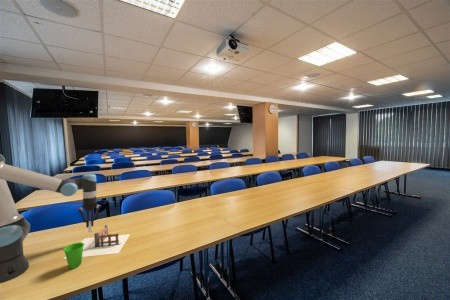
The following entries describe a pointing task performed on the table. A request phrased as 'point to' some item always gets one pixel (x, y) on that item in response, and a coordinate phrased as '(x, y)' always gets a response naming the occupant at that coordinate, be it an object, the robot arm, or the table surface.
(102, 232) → the fence swing
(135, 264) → the table surface
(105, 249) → the card
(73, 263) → the cup
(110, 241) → the fence fixed
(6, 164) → the robot arm
